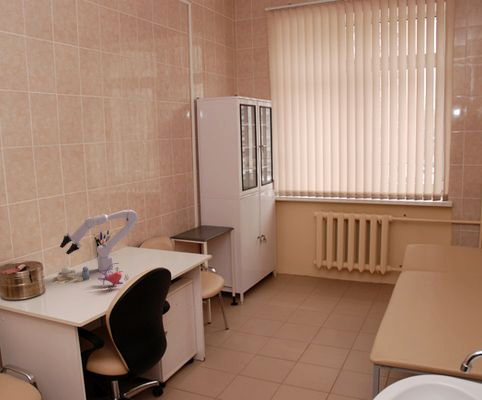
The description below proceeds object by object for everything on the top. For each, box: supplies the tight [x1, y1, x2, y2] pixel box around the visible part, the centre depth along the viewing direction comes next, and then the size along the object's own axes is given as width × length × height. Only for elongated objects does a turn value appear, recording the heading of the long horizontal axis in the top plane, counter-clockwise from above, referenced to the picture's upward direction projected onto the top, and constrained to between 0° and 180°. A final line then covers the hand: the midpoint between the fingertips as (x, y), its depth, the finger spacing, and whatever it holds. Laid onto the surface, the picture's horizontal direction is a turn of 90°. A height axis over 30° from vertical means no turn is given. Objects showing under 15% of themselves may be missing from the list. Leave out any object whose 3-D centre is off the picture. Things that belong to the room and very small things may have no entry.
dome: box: [60, 266, 72, 274], centre depth 286 cm, size 6×6×6 cm
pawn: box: [81, 266, 91, 281], centre depth 281 cm, size 4×4×8 cm
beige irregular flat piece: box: [54, 269, 92, 285], centre depth 284 cm, size 22×17×4 cm
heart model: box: [97, 262, 129, 291], centre depth 267 cm, size 15×9×18 cm
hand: (64, 250), depth 289 cm, fingers open, 7 cm apart
